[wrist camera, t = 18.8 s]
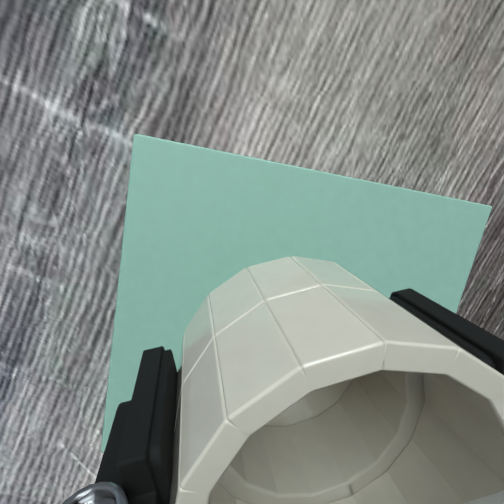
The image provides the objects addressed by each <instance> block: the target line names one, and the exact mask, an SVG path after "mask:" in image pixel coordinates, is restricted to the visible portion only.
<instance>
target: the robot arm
mask: <svg viewBox="0 0 504 504" xmlns="http://www.w3.org/2000/svg"><path fill="white" fill-rule="evenodd" d="M389 298H390V299H392V300H393V301H395V302H396V303H398V304H399V305H401V306H402V307H404V308H405V309H407V310H408V311H410V312H411V313H413V314H414V315H415V316H417V317H418V318H420V319H421V320H423V321H424V322H426V323H427V324H429V325H430V326H432V327H433V328H435V329H436V330H438V331H439V332H441V333H442V334H444V335H445V336H447V337H448V338H450V339H451V340H453V341H454V342H456V343H457V344H459V345H460V346H462V347H463V348H465V349H466V350H468V351H469V352H471V353H472V354H473V355H475V356H476V357H478V358H479V359H481V360H482V361H484V362H485V363H487V364H488V365H490V366H491V367H493V368H494V369H496V370H497V371H499V372H500V373H502V374H503V375H504V341H503V340H502V339H500V338H498V337H496V336H494V335H493V334H491V333H489V332H487V331H486V330H484V329H482V328H480V327H479V326H477V325H475V324H473V323H471V322H470V321H468V320H466V319H464V318H463V317H461V316H459V315H457V314H456V313H454V312H452V311H450V310H448V309H447V308H445V307H443V306H441V305H440V304H438V303H436V302H434V301H432V300H431V299H429V298H427V297H425V296H424V295H422V294H420V293H418V292H417V291H415V290H413V289H411V288H408V289H404V290H399V291H395V292H392V293H391V295H390V297H389ZM177 373H178V372H177V368H176V365H175V361H174V357H173V353H172V350H171V349H169V350H165V349H164V347H163V346H160V347H156V348H152V349H147V350H144V351H143V354H142V358H141V362H140V366H139V371H138V375H137V379H136V383H135V387H134V391H133V395H132V399H131V400H130V401H126V402H122V403H120V404H119V405H118V407H117V410H116V414H115V417H114V421H113V424H112V427H111V431H110V434H109V437H108V441H107V444H106V448H105V451H104V454H103V458H102V461H101V465H100V468H99V471H98V475H97V478H96V482H95V484H91V485H89V486H87V487H85V488H83V489H81V490H79V491H77V492H76V493H74V494H73V495H72V496H70V497H69V498H68V499H66V500H65V501H64V503H63V504H170V494H171V476H172V459H173V441H174V425H175V408H176V390H177ZM463 504H504V490H503V491H500V492H497V493H494V494H491V495H488V496H485V497H482V498H479V499H476V500H473V501H469V502H466V503H463Z"/></svg>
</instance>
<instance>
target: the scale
mask: <svg viewBox="0 0 504 504" xmlns="http://www.w3.org/2000/svg"><path fill="white" fill-rule="evenodd" d="M491 208H492V207H491V206H489V205H484V204H479V203H474V202H469V201H464V200H459V199H455V198H450V197H445V196H440V195H435V194H430V193H425V192H420V191H415V190H410V189H405V188H400V187H395V186H391V185H386V184H381V183H376V182H371V181H366V180H361V179H356V178H351V177H346V176H341V175H336V174H331V173H327V172H322V171H317V170H312V169H307V168H302V167H297V166H292V165H287V164H282V163H277V162H272V161H267V160H262V159H258V158H253V157H248V156H243V155H238V154H233V153H228V152H223V151H218V150H213V149H208V148H203V147H198V146H194V145H189V144H184V143H179V142H174V141H169V140H164V139H159V138H154V137H149V136H144V135H139V134H134V137H133V146H132V156H131V165H130V175H129V185H128V194H127V204H126V213H125V223H124V233H123V242H122V252H121V261H120V271H119V281H118V290H117V300H116V309H115V319H114V329H113V338H112V348H111V357H110V367H109V377H108V386H107V396H106V405H105V415H104V425H103V434H102V444H101V452H103V453H104V451H105V448H106V444H107V441H108V437H109V434H110V431H111V427H112V424H113V421H114V417H115V414H116V410H117V407H118V405H119V404H120V403H122V402H126V401H130V400H131V399H132V395H133V391H134V387H135V383H136V379H137V375H138V371H139V366H140V362H141V358H142V354H143V351H144V350H147V349H152V348H156V347H160V346H163V347H164V349H165V350H169V349H171V350H172V353H173V357H174V361H175V365H176V368H177V372H178V365H179V359H180V352H181V346H182V339H183V335H184V333H185V329H186V328H187V326H188V325H189V323H190V322H191V320H192V318H193V317H194V315H195V314H196V312H197V311H198V309H199V308H200V306H201V304H202V303H203V301H204V300H205V298H206V297H207V296H208V295H209V293H210V292H212V291H213V290H215V289H216V288H217V287H219V286H220V285H222V284H223V283H224V282H226V281H227V280H229V279H230V278H231V277H233V276H234V275H236V274H237V273H238V272H240V271H241V270H243V269H244V268H248V267H249V266H253V265H257V264H261V263H265V262H268V261H272V260H276V259H280V258H284V257H288V256H289V257H292V256H298V257H305V258H312V259H319V260H326V261H332V262H335V263H337V264H338V265H340V266H342V267H343V268H345V269H346V270H348V271H349V272H351V273H352V274H354V275H356V276H357V277H359V278H360V279H362V280H363V281H365V282H366V283H368V284H369V285H371V286H372V287H374V288H375V289H377V290H378V291H380V292H381V293H383V294H384V295H386V296H387V297H390V295H391V293H392V292H395V291H399V290H404V289H408V288H411V289H413V290H415V291H417V292H418V293H420V294H422V295H424V296H425V297H427V298H429V299H431V300H432V301H434V302H436V303H438V304H440V305H441V306H443V307H445V308H447V309H448V310H450V311H452V312H454V313H456V311H457V308H458V305H459V303H460V300H461V297H462V294H463V291H464V288H465V285H466V282H467V279H468V276H469V273H470V270H471V267H472V264H473V261H474V258H475V256H476V253H477V250H478V247H479V244H480V241H481V238H482V235H483V232H484V229H485V226H486V223H487V220H488V217H489V214H490V211H491Z"/></svg>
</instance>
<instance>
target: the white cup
mask: <svg viewBox="0 0 504 504" xmlns="http://www.w3.org/2000/svg"><path fill="white" fill-rule="evenodd" d="M503 490H504V375H503V374H502V373H500V372H499V371H497V370H496V369H494V368H493V367H491V366H490V365H488V364H487V363H485V362H484V361H482V360H481V359H479V358H478V357H476V356H475V355H473V354H472V353H471V352H469V351H468V350H466V349H465V348H463V347H462V346H460V345H459V344H457V343H456V342H454V341H453V340H451V339H450V338H448V337H447V336H445V335H444V334H442V333H441V332H439V331H438V330H436V329H435V328H433V327H432V326H430V325H429V324H427V323H426V322H424V321H423V320H421V319H420V318H418V317H417V316H415V315H414V314H413V313H411V312H410V311H408V310H407V309H405V308H404V307H402V306H401V305H399V304H398V303H396V302H395V301H393V300H392V299H390V298H389V297H387V296H386V295H384V294H383V293H381V292H380V291H378V290H377V289H375V288H374V287H372V286H371V285H369V284H368V283H366V282H365V281H363V280H362V279H360V278H359V277H357V276H356V275H354V274H352V273H351V272H349V271H348V270H346V269H345V268H343V267H342V266H340V265H338V264H337V263H335V262H332V261H326V260H319V259H312V258H305V257H298V256H292V257H289V256H288V257H284V258H280V259H276V260H272V261H268V262H265V263H261V264H257V265H253V266H249V267H248V268H244V269H243V270H241V271H240V272H238V273H237V274H236V275H234V276H233V277H231V278H230V279H229V280H227V281H226V282H224V283H223V284H222V285H220V286H219V287H217V288H216V289H215V290H213V291H212V292H210V293H209V295H208V296H207V297H206V298H205V300H204V301H203V303H202V304H201V306H200V308H199V309H198V311H197V312H196V314H195V315H194V317H193V318H192V320H191V322H190V323H189V325H188V326H187V328H186V329H185V333H184V335H183V339H182V346H181V352H180V359H179V365H178V373H177V390H176V408H175V425H174V441H173V459H172V476H171V494H170V504H463V503H466V502H469V501H473V500H476V499H479V498H482V497H485V496H488V495H491V494H494V493H497V492H500V491H503Z"/></svg>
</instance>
